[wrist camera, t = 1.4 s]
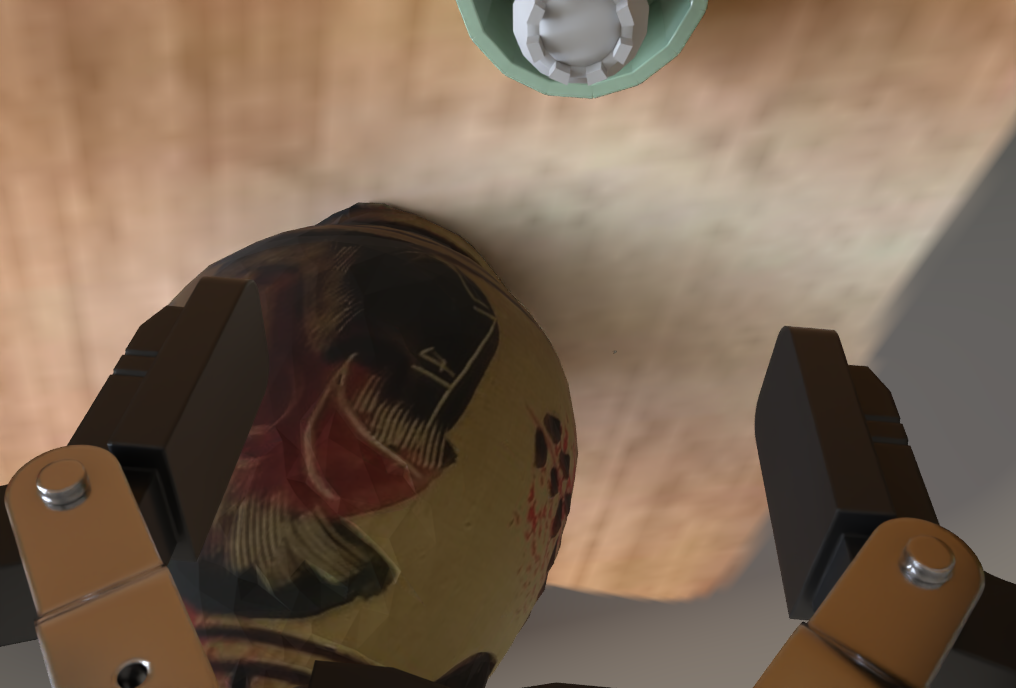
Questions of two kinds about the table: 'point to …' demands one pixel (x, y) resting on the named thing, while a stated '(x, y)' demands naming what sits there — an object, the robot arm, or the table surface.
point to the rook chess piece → (580, 36)
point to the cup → (669, 27)
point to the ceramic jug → (384, 462)
